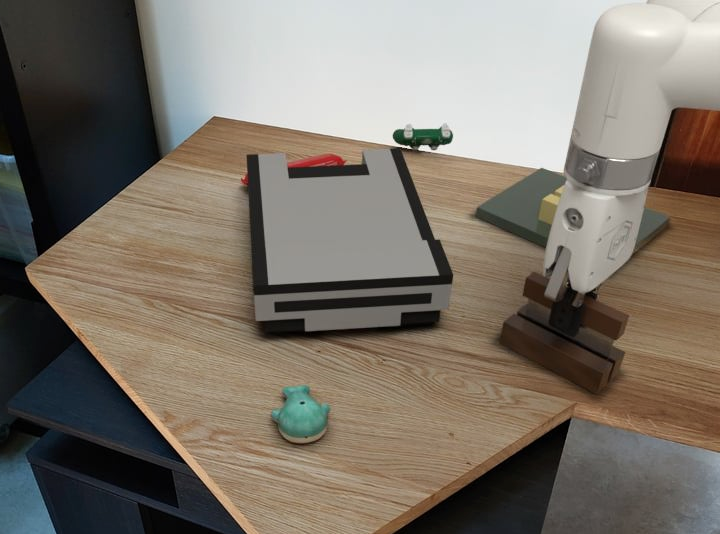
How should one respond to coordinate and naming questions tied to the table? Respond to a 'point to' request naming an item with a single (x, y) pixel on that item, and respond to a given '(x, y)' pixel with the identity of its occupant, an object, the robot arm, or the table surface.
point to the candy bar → (311, 163)
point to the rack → (559, 353)
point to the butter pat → (548, 208)
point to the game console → (342, 246)
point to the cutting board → (523, 206)
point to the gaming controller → (423, 137)
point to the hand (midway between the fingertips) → (568, 324)
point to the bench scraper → (595, 326)
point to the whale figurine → (301, 416)
